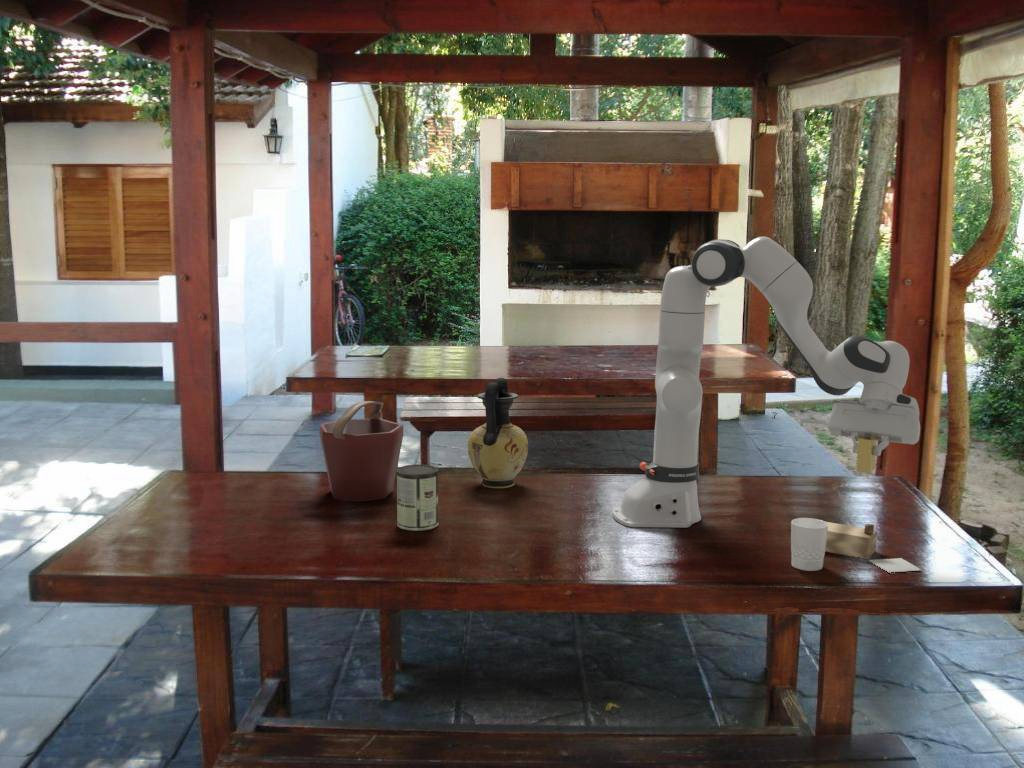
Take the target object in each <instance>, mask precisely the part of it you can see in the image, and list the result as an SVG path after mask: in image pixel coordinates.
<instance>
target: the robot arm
mask: <svg viewBox="0 0 1024 768" xmlns="http://www.w3.org/2000/svg"><path fill="white" fill-rule="evenodd" d="M738 278H743V279H746V280H748V281H749V282H751V284H753V286H755V287H756V289H757V290H758V291H759V292H760V293H762V295H763V296H764V298H765V299H766V300H767V302H768V303H769V305H770V306H771V308H772V310H773V312H774V316H775V320H776V323H777V324H778V326H779V328H780V329H781V331H782V333H783V334H784V335H785V337H786V338H787V340H788V341H789V343H790V344H791V346H792V347H793V348H794V350H795V351H796V352H797V353H798V354H799V356H800V358H801V359H802V360H803V362H804V363H805V364H806V366H807V368H808V369H809V371H810V374H811V376H812V378H813V381H815V384H816V385H817V386H818V387H819V389H821V390H822V391H823V392H825V393H826V394H828V395H830V396H831V395H832V396H843V395H845V394H847V393H848V392H849V391H851V390H852V389H853V388H854V387H856V385H857V384H858V383H859V382H860V383H862V385H863V389H862V392H861V396H860V398H859V401H858V400H846V399H840V401H839V400H838V401H836V402H834V403H833V405H832V407H831V413H830V415H829V418H828V420H827V424H826V428H827V431H828V432H829V434H830V435H831V436H834V437H835V436H837V437H845V438H851V440H852V443H853V445H852V452H853V453H854V454H857V451H858V439H859V438H860V437H862V436H863V435H864V434H871V436H875V437H877V441H880V442H879V444H878V445H877V444H876V445H874V449H873V455H876V457H877V456H878V457H881V454H882V451H883V450H884V449H886V448H887V447H889V444H890V443H897V444H906V445H907V444H908V445H915V444H917V443H918V442H919V441H920V436H921V423H920V408H919V407H920V406H919V404H918V401H917V399H916V398H915V397H912V396H910V395H907V394H904V393H903V389H904V387H905V385H906V384H907V380H908V375H909V370H910V364H911V363H910V355H909V352H908V349H907V348H905V346H903V345H902V344H901V343H899V342H896V341H894V340H885V341H875V340H873V339H871V338H869V337H867V336H864V335H859V334H856V335H851V336H849V337H848V338H847V339H845V340H844V341H842V342H841V343H840V344H838V345H837V346H836V348H834V349H832V350H831V351H830V350H828V349H827V348H826V346H825V345H824V344H823V342H822V341H821V340H820V338H819V337H818V335H817V333H815V331H814V330H813V329H812V327H811V325H810V323H809V320H808V310H809V306H810V304H811V300H812V298H813V293H814V284H813V280H812V278H811V276H810V274H809V273H808V272H807V270H806V269H805V268H804V267H803V265H801V264H800V262H799V261H798V260H797V259H796V258H795V257H794V256H792V255H791V254H790V253H789V252H788V251H787V250H786V249H785V248H784V247H783V246H781V245H780V244H779V243H778V242H776V240H773V239H771V238H770V237H768V236H757V237H755V238H753V239H752V240H750V241H748V242H747V243H746V244H744V245H743V246H740V245H739V244H738V243H736V242H735V241H733V240H730V239H724V238H722V239H720V238H719V239H718V238H717V239H712V240H709V241H707V242H705V243H704V244H702V245H700V246H698V248H697V249H696V250H695V252H694V254H693V256H692V258H691V265H690V264H689V265H678V266H675V267H673V268H671V269H669V270H668V271H667V273H666V274H665V278H664V281H663V285H662V290H661V296H660V308H659V323H658V324H659V326H658V341H657V350H656V352H657V353H656V364H655V365H656V366H655V376H654V377H655V379H654V389H655V392H656V407H655V423H654V433H653V434H654V435H653V457H652V458H653V460H652V461H651V462H650V463H649V464H648V463H647V462H645V461H641V462H640V464H639V469H640V470H641V471H644V472H645V476H644V477H643V478H642V479H640V480H639V481H638V482H636V483H634V484H633V485H632V486H630V487H629V488H628V489H626V490H625V491H624V493H623V496H622V499H621V504H620V507H615V508H614V509H612V513H611V514H612V518H613V519H614V520H615V521H617V522H618V523H619V524H620V525H623V526H626V527H629V528H630V527H631V528H684V529H685V528H686V529H687V528H690V527H691V526H692V525H693V524H695V523H698V522H700V521H701V520H702V515H701V512H700V507H699V501H698V500H699V499H698V485H699V477H700V471H699V469H700V468H699V467H700V465H699V463H698V453H699V451H698V450H699V432H700V426H701V425H700V424H701V418H702V417H701V416H702V405H703V404H702V403H703V393H704V392H703V386H702V383H701V381H700V371H701V360H702V352H703V345H704V335H705V318H706V317H705V316H706V300H707V294H708V292H709V290H710V289H711V288H712V287H713V288H714V287H722V286H725V285H728V284H730V283H732V282H733V281H734V280H736V279H738Z"/></svg>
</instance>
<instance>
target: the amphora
mask: <svg viewBox="0 0 1024 768" xmlns="http://www.w3.org/2000/svg"><path fill="white" fill-rule="evenodd" d="M508 386H509V383H508V381H507V379H506V378H505V377H498V378H496V379H495V382H494V381H492V382H491V381H490V382H489V383H488V384H487V385H486V388H485V392H482V393H477V396H476V397H477V398H478V399H480V400H482V401H481V402H482V406H483V407H484V408H485V423H484V424H482V425H480V426H478V427H476V428H475V429H473V431H472V432H471V434H470V435H469V438H468V442H467V451H468V456H469V460H470V462H471V465H472V467H473V469H474V471H476V473H477V474H478V475H479V476H480V477H481V478H482V482H481V484H482V486H484V487H485V488H489V489H507V488H512V487H514V486H515V485H516V484H515V481H514V478H516V476H517V475H518V474H520V472H521V470H522V469H523V468H524V464H525V463H526V460H527V457H528V452H529V440H528V437H527V434H526V433H525V431H524V430H522V428H520V427H519V426H517V425H515V424H513V423H512V422H511V420H510V409H511V407H512V406H513V404H514V400H516V399H518V398H519V395H518V394H517V393H515V392H509V387H508Z"/></svg>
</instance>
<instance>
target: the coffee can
mask: <svg viewBox="0 0 1024 768" xmlns="http://www.w3.org/2000/svg"><path fill="white" fill-rule="evenodd" d="M396 497H397V498H396V509H397V510H396V513H397V519H396V520H397V524H396V527H397V528H399V529H402V530H404V531H405V530H406V531H417V532H418V531H423V532H424V531H427V530H428V531H429V530H432V529H435V528H437V527H439V468H438V467H437V466H434V465H429V464H408V465H403V466H400V467H397V470H396Z"/></svg>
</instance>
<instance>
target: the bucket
mask: <svg viewBox="0 0 1024 768" xmlns="http://www.w3.org/2000/svg"><path fill="white" fill-rule="evenodd" d="M369 405H371V407H370V409H369V412H370V414H369V418H353V417H354V416H355V415H356V414H357V413H358V412H359V410H361V409H362V408H364V407H366V406H369ZM383 406H384V402H381V401H372V400H371V401H370V400H367V401H366V400H365V401H359V402H356V403H354V404H352V405H350V406H349V407H348V408H347V409H346V410H345V411H344V412H343V413H342V415H341V416H340V417H339V418H337V420H334V421H330V422H329V421H328V422H324V423H319V424H318V425H319V438H320V444H321V448H322V453H323V459H324V463H325V468H326V473H327V478H328V484H329V488H330V492H331V494H332V497H333V499H334V500H342V501H349V502H356V503H359V502H369V501H377V500H383V499H386V498H387V497H388V496H389V495H390V494H392V492H394V491H393V490H394V486H395V481H396V480H395V479H396V477H397V473H396V470H397V468H398V465H399V461H400V455H401V449H402V446H403V445H402V444H403V439H404V424H402V423H398V422H395V421H391V420H389V419H383V412H382V408H383Z"/></svg>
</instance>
